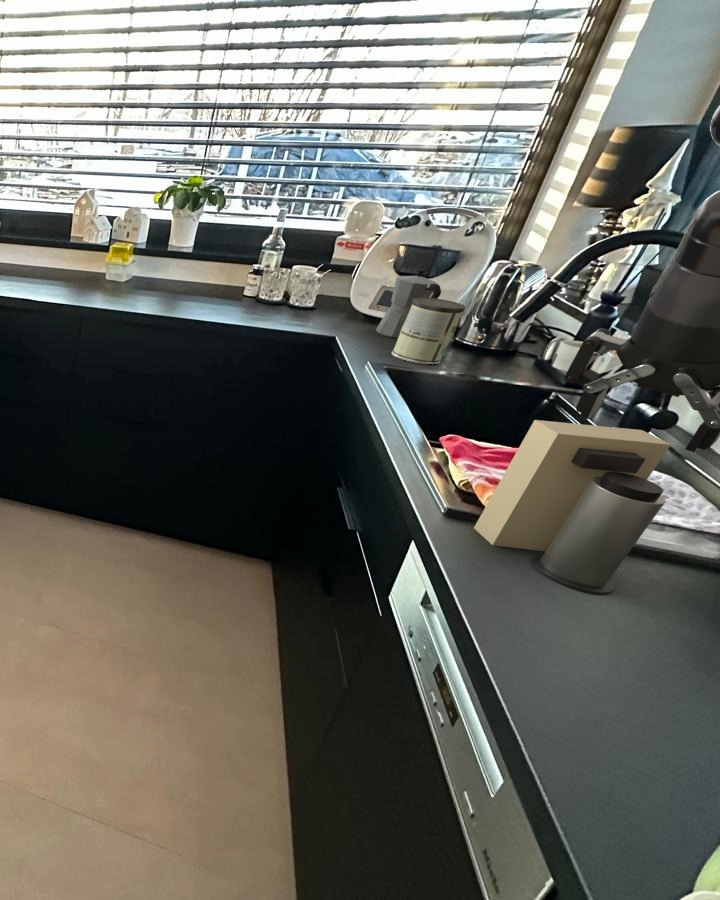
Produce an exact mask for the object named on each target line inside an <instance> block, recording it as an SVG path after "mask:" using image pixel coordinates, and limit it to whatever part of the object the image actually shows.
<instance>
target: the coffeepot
mask: <svg viewBox="0 0 720 900" xmlns="http://www.w3.org/2000/svg"><path fill="white" fill-rule="evenodd" d="M425 271H426V270H425V269H422V268H419V269H417V270H416V275H397V276H396V278H395V282H394V287H393V291H392V295H391V300H390V302H391V305H390V308H389V309H387V311H386V313H385V314H384V315H383V317H382V319H381V320H380V321H379V324H378V325H377V327H376V328H375V331H376V332H377V333H378V334H380V335H382V336H386V337H388V338H395V339H398V336H399V334H400V332H401V329H402V327H403V324H404V322H405V319H406V317H407V315H408V312H409V310H410V307H411V305H412V301H413V299H414V298H420V297H424V298H436V299H439V297H440V296H441V294H442V289H441V285H440V284H439V283H437V282H436V281H434V280H431V279H430V278H427V277H424V276H423V275H424V273H425Z"/></svg>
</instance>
